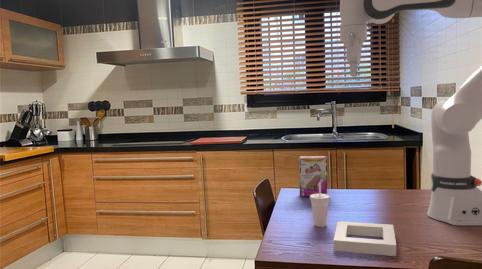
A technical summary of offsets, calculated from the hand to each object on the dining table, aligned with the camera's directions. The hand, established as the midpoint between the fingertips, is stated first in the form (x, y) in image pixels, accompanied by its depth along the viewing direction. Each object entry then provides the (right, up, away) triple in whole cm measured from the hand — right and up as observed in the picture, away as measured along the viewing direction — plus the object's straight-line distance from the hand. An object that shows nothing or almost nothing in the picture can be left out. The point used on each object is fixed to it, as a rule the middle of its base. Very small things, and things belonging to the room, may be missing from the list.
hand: (353, 76), depth 136 cm
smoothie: (-13, -50, -7) cm, 52 cm away
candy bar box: (-9, -46, +28) cm, 54 cm away
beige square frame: (-4, -51, -23) cm, 56 cm away
